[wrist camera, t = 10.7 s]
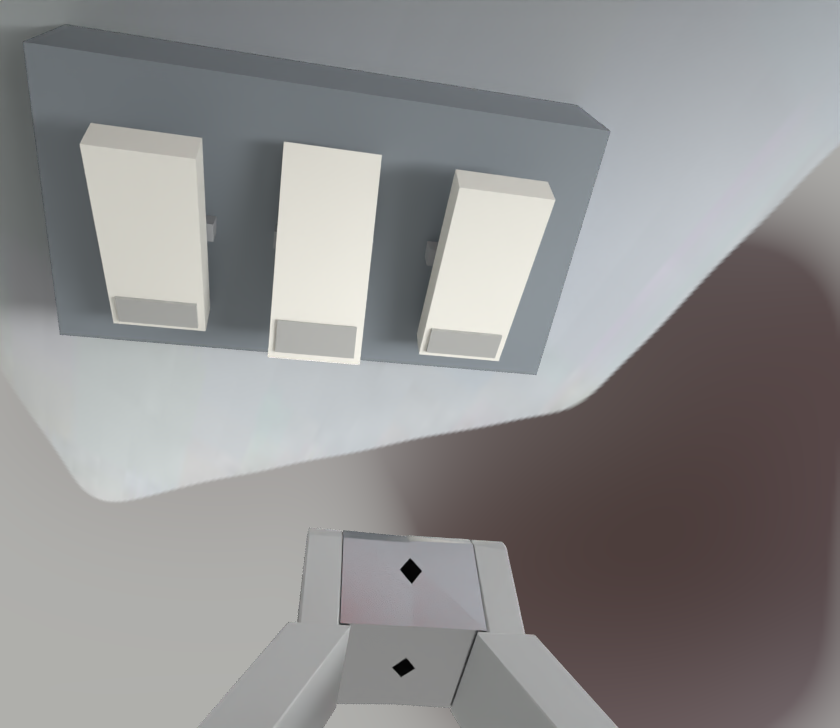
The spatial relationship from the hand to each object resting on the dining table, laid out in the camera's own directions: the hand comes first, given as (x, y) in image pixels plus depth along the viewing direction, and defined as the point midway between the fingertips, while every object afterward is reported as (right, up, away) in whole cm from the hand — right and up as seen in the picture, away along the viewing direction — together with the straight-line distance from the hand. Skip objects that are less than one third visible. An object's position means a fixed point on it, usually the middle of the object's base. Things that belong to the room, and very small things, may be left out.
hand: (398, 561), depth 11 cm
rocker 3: (+3, +7, +21) cm, 22 cm away
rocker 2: (-4, +8, +19) cm, 21 cm away
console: (-5, +12, +25) cm, 28 cm away
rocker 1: (-11, +8, +18) cm, 23 cm away
